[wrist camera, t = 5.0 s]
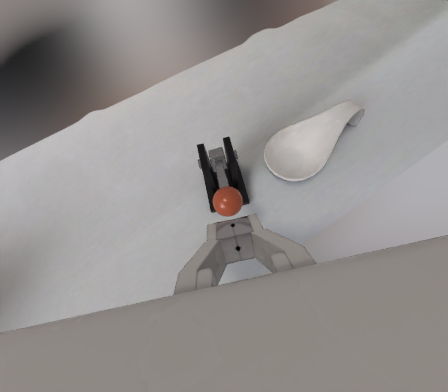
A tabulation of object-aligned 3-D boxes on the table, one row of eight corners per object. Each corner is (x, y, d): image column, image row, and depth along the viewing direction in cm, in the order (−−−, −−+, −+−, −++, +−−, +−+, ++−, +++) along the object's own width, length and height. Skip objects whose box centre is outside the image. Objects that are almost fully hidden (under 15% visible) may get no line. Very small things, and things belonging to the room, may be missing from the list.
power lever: (247, 218, 17) (243, 195, 15) (218, 225, 17) (210, 204, 15) (228, 161, 27) (224, 143, 25) (209, 166, 27) (204, 148, 25)
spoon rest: (288, 197, 33) (299, 183, 26) (251, 159, 37) (252, 138, 30) (369, 134, 36) (398, 107, 29) (326, 105, 39) (343, 74, 33)
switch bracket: (249, 203, 33) (252, 175, 21) (211, 212, 34) (194, 190, 22) (237, 163, 37) (234, 119, 25) (203, 171, 37) (184, 132, 25)
